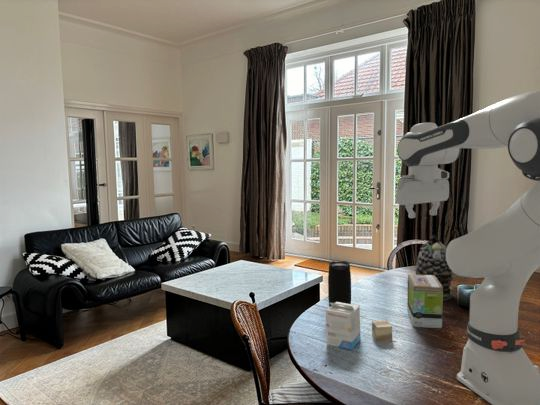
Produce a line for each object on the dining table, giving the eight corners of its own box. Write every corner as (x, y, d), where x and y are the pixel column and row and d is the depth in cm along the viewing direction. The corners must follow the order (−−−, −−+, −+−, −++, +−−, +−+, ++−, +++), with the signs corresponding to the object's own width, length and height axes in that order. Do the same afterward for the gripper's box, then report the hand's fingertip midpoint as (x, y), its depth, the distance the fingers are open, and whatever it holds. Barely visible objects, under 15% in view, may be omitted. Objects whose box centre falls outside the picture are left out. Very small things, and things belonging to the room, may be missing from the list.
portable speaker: (350, 308, 159) (350, 259, 157) (352, 318, 150) (351, 266, 148) (328, 308, 160) (327, 259, 158) (328, 317, 151) (327, 266, 149)
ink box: (361, 339, 132) (360, 300, 131) (351, 350, 125) (351, 308, 124) (336, 334, 137) (335, 296, 135) (326, 344, 130) (325, 304, 128)
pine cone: (460, 303, 160) (461, 241, 157) (420, 302, 163) (420, 241, 160) (446, 286, 180) (447, 231, 178) (411, 286, 183) (411, 231, 180)
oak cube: (392, 341, 131) (392, 326, 130) (377, 342, 130) (377, 327, 130) (386, 334, 136) (386, 320, 135) (371, 335, 135) (371, 321, 135)
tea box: (443, 329, 138) (443, 286, 136) (412, 327, 140) (412, 286, 139) (434, 312, 153) (435, 273, 151) (406, 311, 155) (406, 273, 153)
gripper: (405, 176, 124) (405, 221, 125) (453, 172, 132) (452, 214, 134) (391, 175, 129) (391, 218, 131) (437, 172, 138) (437, 212, 140)
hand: (422, 216), depth 132 cm, fingers open, 8 cm apart
